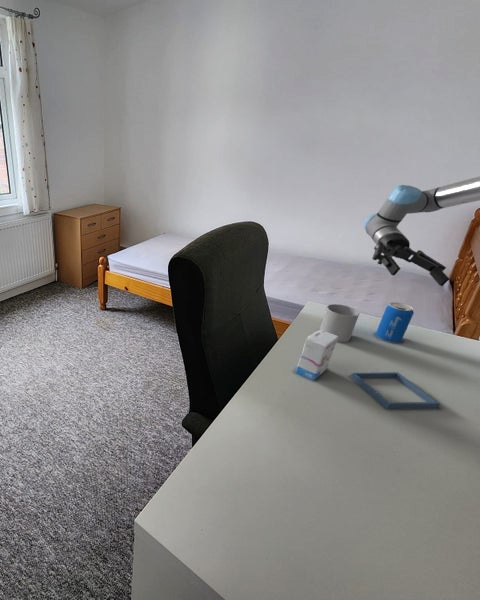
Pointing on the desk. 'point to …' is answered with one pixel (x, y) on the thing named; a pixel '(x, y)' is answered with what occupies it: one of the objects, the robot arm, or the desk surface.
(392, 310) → the beverage can
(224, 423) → the desk surface
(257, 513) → the desk surface
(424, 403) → the rectangular frame
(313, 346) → the ink box
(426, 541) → the desk surface
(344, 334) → the cup
